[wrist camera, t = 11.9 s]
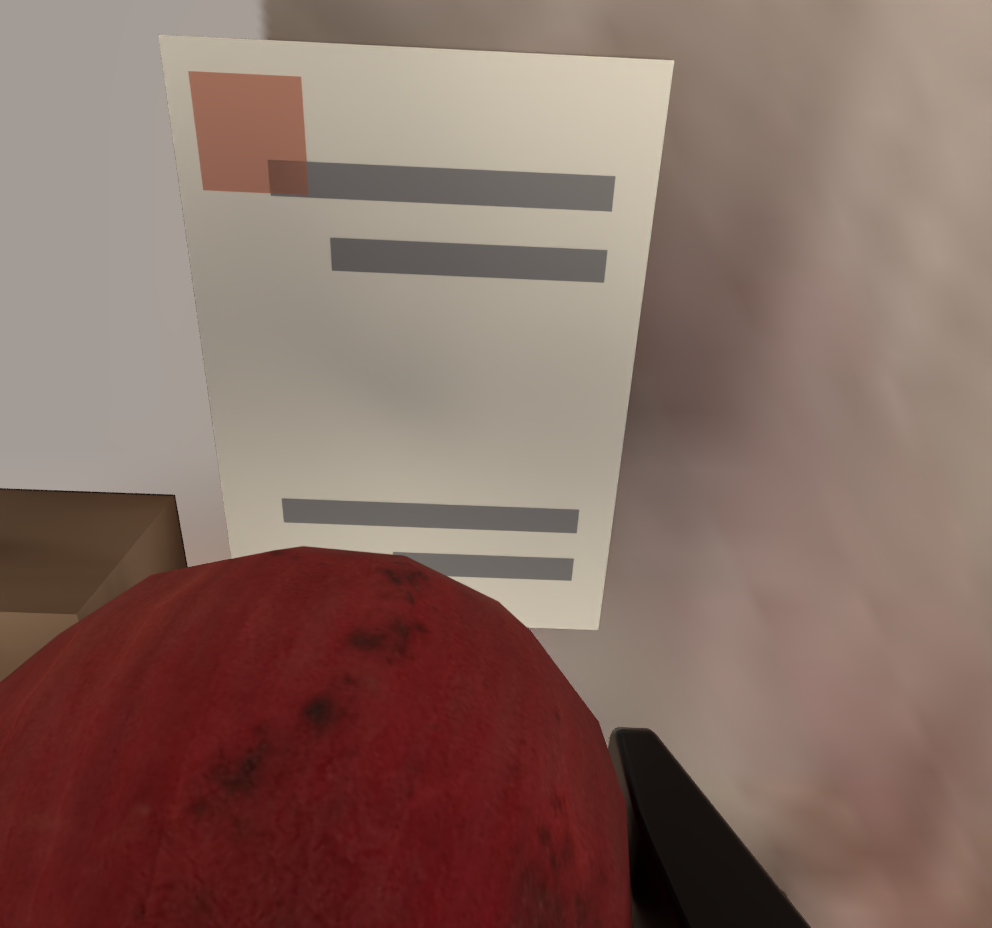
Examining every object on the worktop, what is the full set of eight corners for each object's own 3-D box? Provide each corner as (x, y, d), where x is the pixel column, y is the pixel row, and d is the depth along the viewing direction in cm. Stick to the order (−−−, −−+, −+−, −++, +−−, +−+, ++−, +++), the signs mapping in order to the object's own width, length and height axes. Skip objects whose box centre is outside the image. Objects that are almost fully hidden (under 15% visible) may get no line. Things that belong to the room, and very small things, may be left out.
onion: (413, 316, 8) (-597, 2707, 1) (663, 666, 10) (1098, 2143, 3) (42, 565, 9) (-1572, 2170, 2) (330, 825, 11) (33, 2072, 4)
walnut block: (201, 644, 21) (122, 788, 17) (28, 638, 21) (-97, 781, 17) (175, 494, 19) (76, 614, 15) (-18, 487, 19) (-177, 605, 15)
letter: (596, 620, 21) (598, 630, 20) (243, 608, 21) (239, 617, 20) (669, 61, 15) (674, 60, 14) (166, 36, 14) (157, 34, 14)
